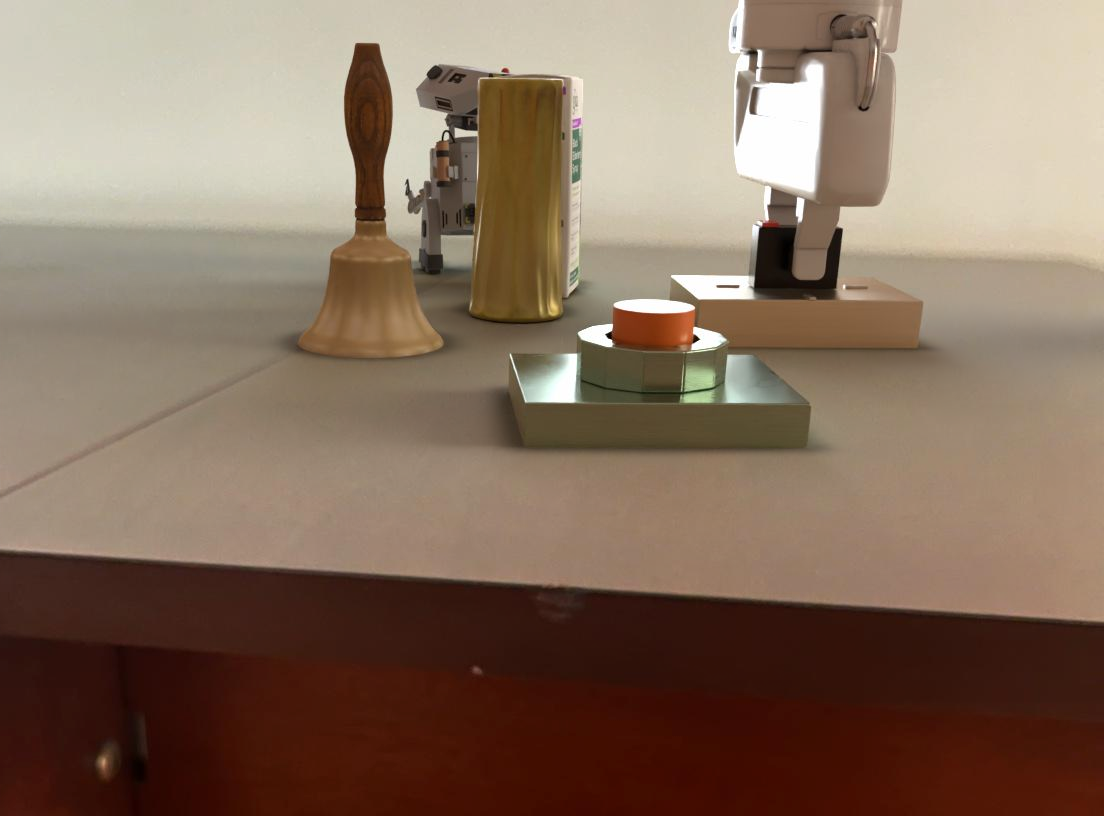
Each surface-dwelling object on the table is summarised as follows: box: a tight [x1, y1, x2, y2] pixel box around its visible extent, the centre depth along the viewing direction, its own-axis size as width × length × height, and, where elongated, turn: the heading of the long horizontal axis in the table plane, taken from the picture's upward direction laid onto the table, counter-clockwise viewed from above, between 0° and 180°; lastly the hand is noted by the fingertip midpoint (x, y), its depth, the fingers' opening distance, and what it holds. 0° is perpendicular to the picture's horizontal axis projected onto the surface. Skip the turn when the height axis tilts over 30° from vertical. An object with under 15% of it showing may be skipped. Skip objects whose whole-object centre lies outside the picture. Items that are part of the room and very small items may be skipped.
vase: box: [468, 78, 564, 324], centre depth 83 cm, size 6×6×14 cm
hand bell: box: [297, 42, 445, 359], centre depth 72 cm, size 8×8×16 cm
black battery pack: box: [747, 219, 844, 289], centre depth 78 cm, size 5×2×4 cm, turn 94°
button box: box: [508, 323, 812, 449], centre depth 59 cm, size 12×10×4 cm
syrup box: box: [493, 73, 584, 299], centre depth 92 cm, size 6×6×14 cm
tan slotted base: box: [669, 274, 924, 349], centre depth 80 cm, size 13×9×3 cm
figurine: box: [404, 63, 516, 274], centre depth 103 cm, size 9×12×15 cm
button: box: [611, 298, 695, 346], centre depth 58 cm, size 4×4×2 cm
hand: (793, 272), depth 79 cm, fingers open, 4 cm apart
